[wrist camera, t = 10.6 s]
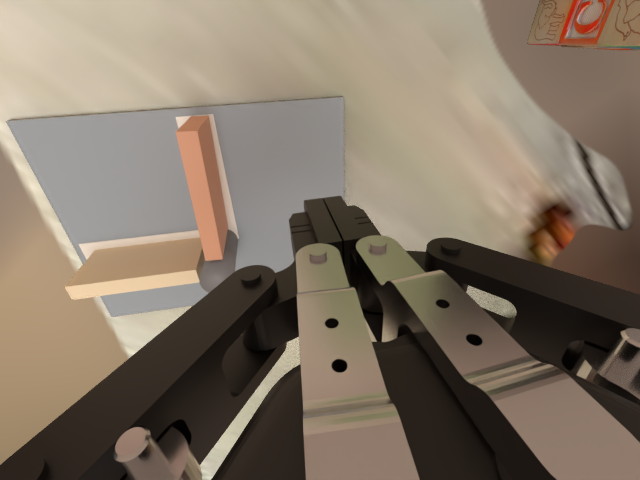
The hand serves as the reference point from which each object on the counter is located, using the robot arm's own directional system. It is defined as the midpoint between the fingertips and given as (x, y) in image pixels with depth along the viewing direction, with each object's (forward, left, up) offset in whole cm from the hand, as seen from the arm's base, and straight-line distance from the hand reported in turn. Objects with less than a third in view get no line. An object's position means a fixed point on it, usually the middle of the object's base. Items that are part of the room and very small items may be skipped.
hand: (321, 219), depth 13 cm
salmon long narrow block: (-2, +7, -13) cm, 15 cm away
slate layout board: (-6, +7, -14) cm, 17 cm away
